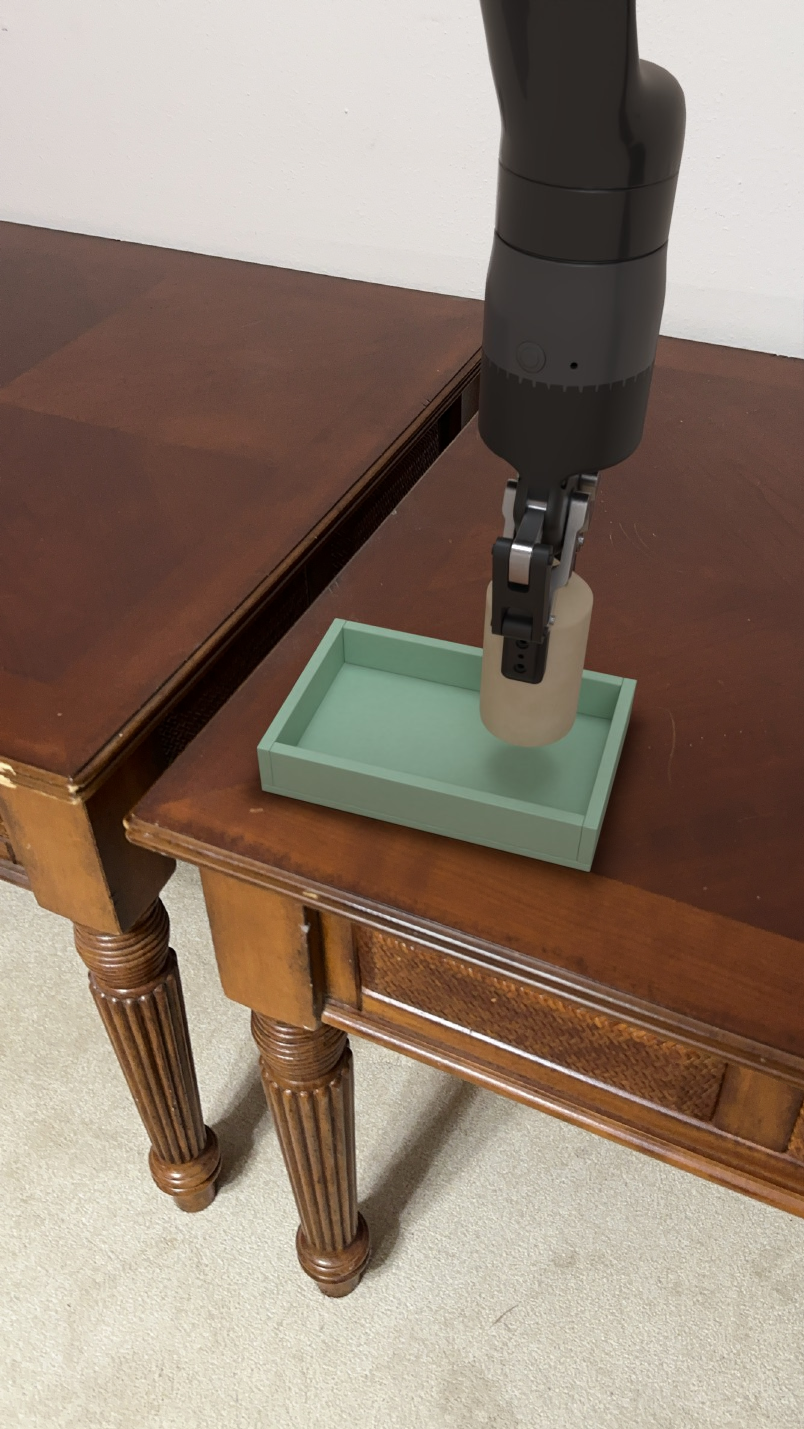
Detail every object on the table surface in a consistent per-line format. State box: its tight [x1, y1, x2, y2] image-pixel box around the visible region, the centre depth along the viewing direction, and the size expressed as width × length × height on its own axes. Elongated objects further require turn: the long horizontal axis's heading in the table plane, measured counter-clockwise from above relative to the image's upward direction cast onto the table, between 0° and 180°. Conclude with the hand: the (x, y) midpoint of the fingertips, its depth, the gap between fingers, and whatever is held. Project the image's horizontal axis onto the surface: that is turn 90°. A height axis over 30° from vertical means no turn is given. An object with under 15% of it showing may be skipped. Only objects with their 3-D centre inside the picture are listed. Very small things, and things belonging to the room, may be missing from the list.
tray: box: [256, 617, 638, 873], centre depth 66 cm, size 20×13×4 cm, turn 72°
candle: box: [479, 558, 594, 747], centre depth 59 cm, size 6×6×10 cm
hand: (536, 640), depth 59 cm, fingers closed on candle, 5 cm apart
